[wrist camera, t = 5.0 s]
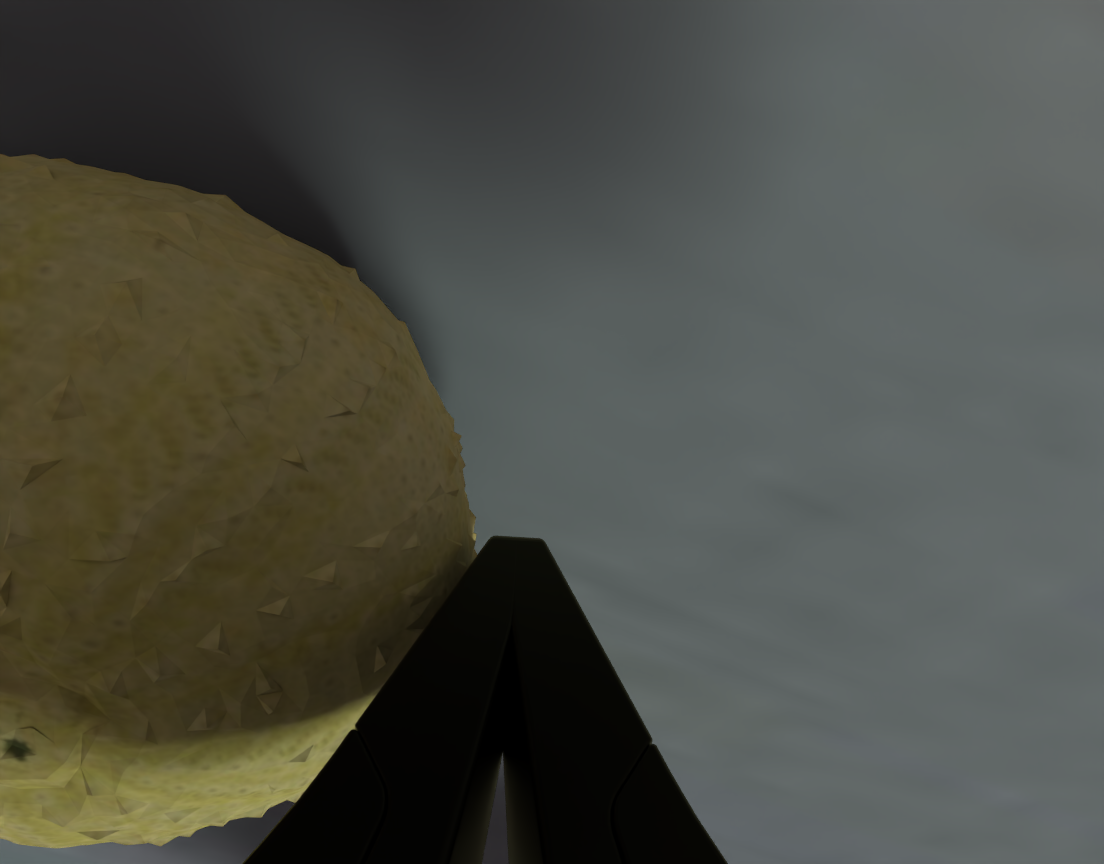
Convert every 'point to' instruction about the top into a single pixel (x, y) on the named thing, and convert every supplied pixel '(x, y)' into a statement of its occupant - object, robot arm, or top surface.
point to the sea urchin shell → (198, 507)
